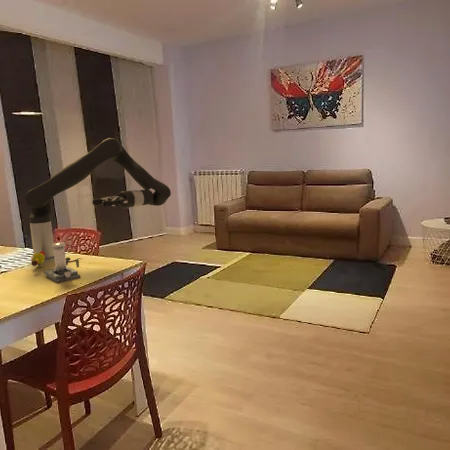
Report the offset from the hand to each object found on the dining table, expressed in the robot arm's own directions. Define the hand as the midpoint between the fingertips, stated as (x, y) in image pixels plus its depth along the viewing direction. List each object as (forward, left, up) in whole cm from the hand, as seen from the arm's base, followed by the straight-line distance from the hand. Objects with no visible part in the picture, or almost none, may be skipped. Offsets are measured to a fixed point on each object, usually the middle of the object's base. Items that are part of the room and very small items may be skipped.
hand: (97, 203), depth 172 cm
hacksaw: (-13, -6, -29) cm, 32 cm away
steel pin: (0, -18, -28) cm, 34 cm away
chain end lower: (0, -18, -28) cm, 33 cm away
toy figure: (-22, -19, -28) cm, 41 cm away
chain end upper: (0, -18, -28) cm, 33 cm away
